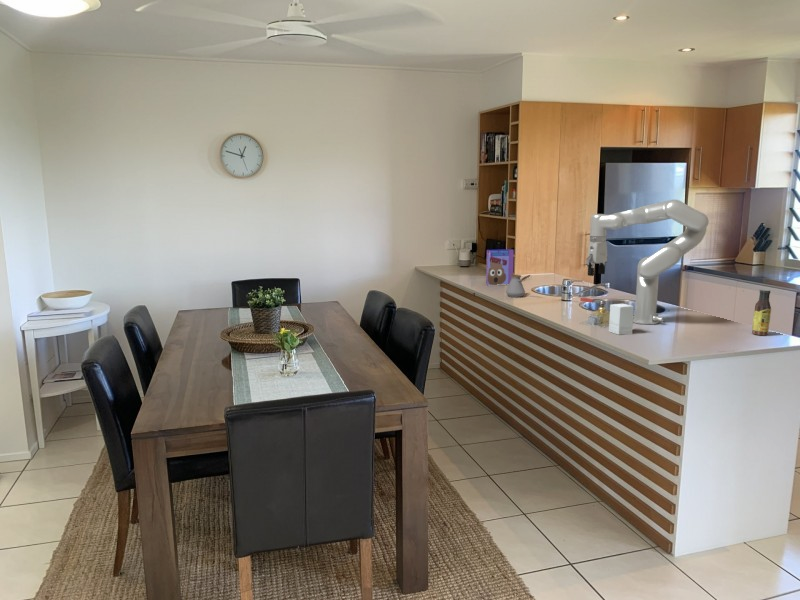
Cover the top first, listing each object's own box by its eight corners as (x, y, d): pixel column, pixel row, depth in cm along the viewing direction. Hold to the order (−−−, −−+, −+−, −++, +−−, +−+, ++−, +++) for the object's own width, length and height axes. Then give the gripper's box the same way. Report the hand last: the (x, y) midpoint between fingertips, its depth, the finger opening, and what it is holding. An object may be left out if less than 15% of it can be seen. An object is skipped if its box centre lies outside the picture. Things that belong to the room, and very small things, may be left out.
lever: (606, 306, 288) (607, 300, 288) (603, 307, 286) (603, 301, 286) (583, 303, 298) (583, 297, 297) (579, 303, 296) (579, 298, 296)
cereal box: (488, 285, 404) (489, 250, 400) (486, 284, 408) (486, 249, 404) (512, 284, 408) (513, 249, 404) (509, 283, 412) (510, 248, 408)
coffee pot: (502, 295, 366) (502, 271, 364) (518, 294, 370) (519, 270, 368) (521, 301, 347) (521, 275, 344) (538, 300, 351) (539, 274, 348)
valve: (623, 321, 291) (624, 306, 290) (601, 327, 279) (602, 311, 278) (601, 318, 300) (601, 303, 299) (579, 323, 288) (579, 308, 287)
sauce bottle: (761, 336, 261) (766, 291, 257) (748, 333, 266) (752, 289, 263) (771, 335, 263) (776, 290, 260) (758, 332, 269) (762, 288, 265)
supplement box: (632, 333, 267) (634, 306, 265) (618, 335, 265) (620, 307, 263) (622, 330, 274) (623, 303, 272) (608, 331, 272) (609, 304, 270)
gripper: (594, 241, 284) (592, 277, 287) (614, 238, 295) (612, 273, 298) (580, 240, 290) (579, 275, 293) (601, 238, 300) (599, 272, 303)
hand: (596, 274), depth 295 cm, fingers open, 8 cm apart
